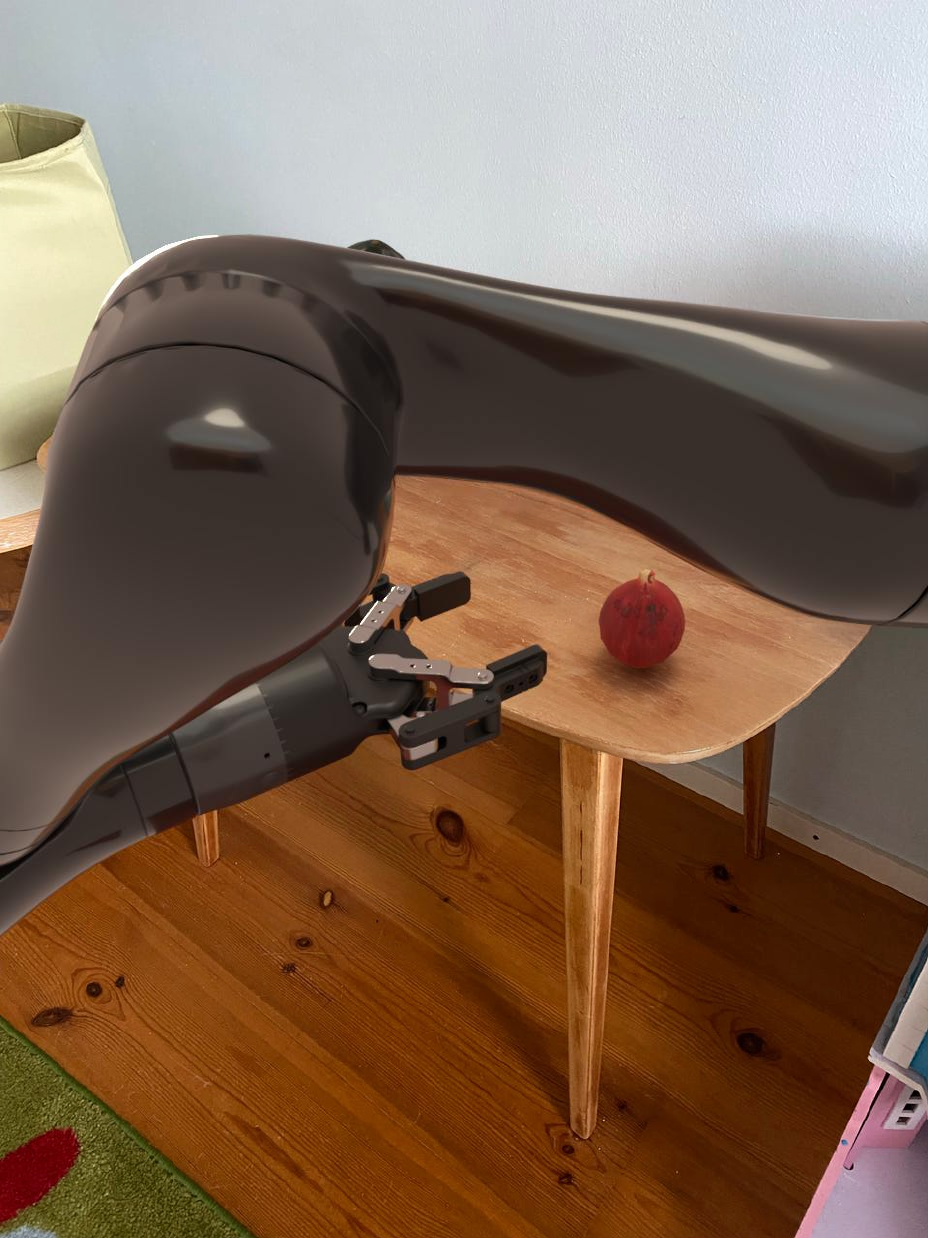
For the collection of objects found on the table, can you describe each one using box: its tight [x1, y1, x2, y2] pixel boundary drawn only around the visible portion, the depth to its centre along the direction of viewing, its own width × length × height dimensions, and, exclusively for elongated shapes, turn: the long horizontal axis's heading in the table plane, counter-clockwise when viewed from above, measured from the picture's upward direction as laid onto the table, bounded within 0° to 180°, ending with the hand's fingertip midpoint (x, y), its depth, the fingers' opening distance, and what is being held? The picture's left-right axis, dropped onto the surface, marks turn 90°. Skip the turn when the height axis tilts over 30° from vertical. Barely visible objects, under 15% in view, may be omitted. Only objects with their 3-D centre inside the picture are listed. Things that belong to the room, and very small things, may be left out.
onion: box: [598, 567, 686, 669], centre depth 67 cm, size 6×6×8 cm
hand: (503, 620), depth 60 cm, fingers open, 8 cm apart
